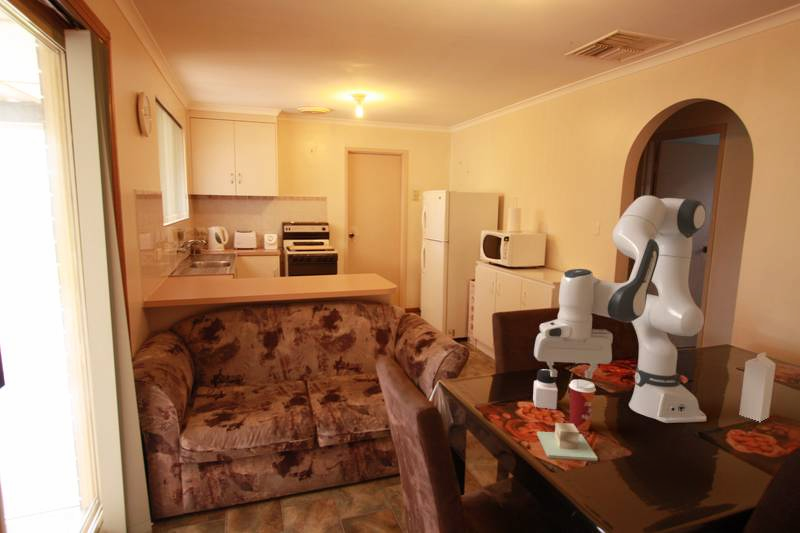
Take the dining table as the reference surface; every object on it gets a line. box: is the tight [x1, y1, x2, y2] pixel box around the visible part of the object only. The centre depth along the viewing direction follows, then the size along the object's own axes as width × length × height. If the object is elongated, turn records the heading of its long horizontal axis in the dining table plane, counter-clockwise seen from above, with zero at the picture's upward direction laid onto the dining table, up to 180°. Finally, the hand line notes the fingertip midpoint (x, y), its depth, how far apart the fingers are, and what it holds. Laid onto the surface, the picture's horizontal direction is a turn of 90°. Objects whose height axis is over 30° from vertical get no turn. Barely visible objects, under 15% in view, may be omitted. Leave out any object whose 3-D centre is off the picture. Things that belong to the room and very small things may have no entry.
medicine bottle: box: [532, 368, 559, 410], centre depth 151 cm, size 7×7×12 cm
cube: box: [554, 422, 580, 449], centre depth 124 cm, size 5×5×5 cm
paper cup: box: [568, 378, 597, 432], centre depth 136 cm, size 8×8×14 cm
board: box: [536, 431, 599, 462], centre depth 124 cm, size 13×13×1 cm
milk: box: [738, 351, 777, 423], centre depth 145 cm, size 6×6×22 cm
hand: (570, 377), depth 122 cm, fingers open, 8 cm apart
